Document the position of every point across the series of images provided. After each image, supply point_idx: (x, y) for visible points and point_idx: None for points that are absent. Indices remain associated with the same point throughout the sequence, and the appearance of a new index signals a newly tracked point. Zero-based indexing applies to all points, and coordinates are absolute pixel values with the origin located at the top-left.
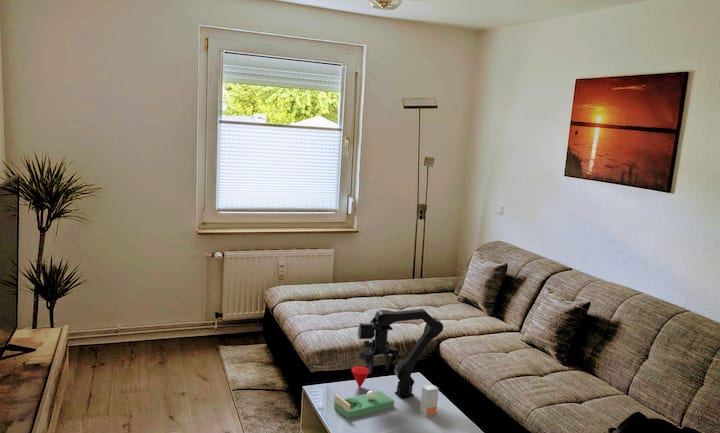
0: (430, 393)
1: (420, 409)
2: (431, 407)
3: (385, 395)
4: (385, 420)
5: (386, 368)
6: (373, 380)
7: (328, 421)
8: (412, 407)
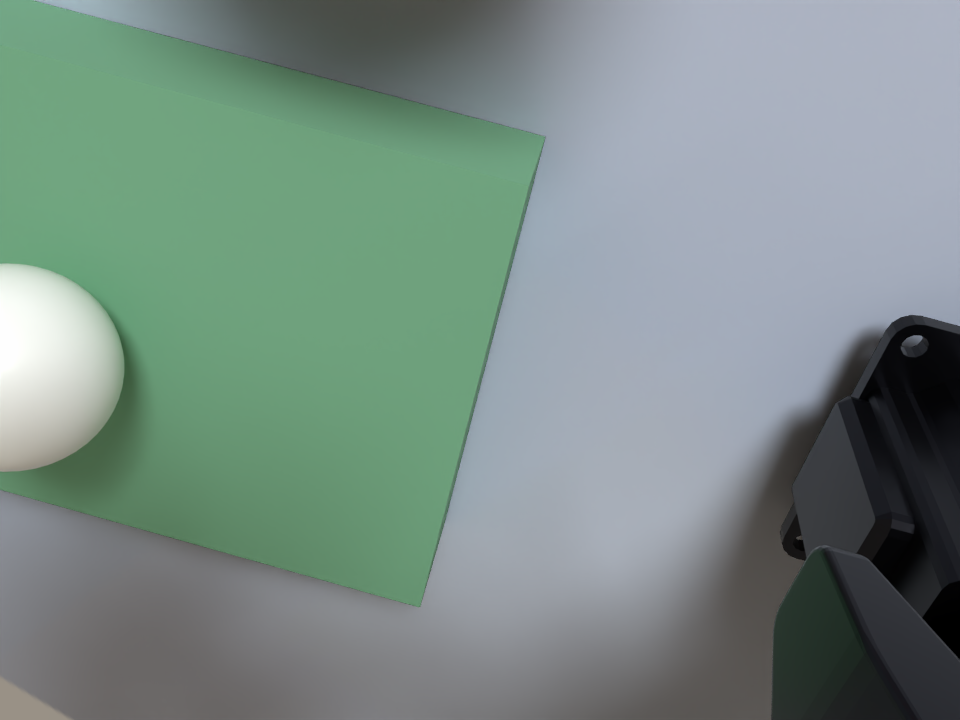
0: None
1: None
2: None
3: (451, 406)
4: (83, 621)
5: (804, 653)
6: None
7: None
8: (667, 689)
